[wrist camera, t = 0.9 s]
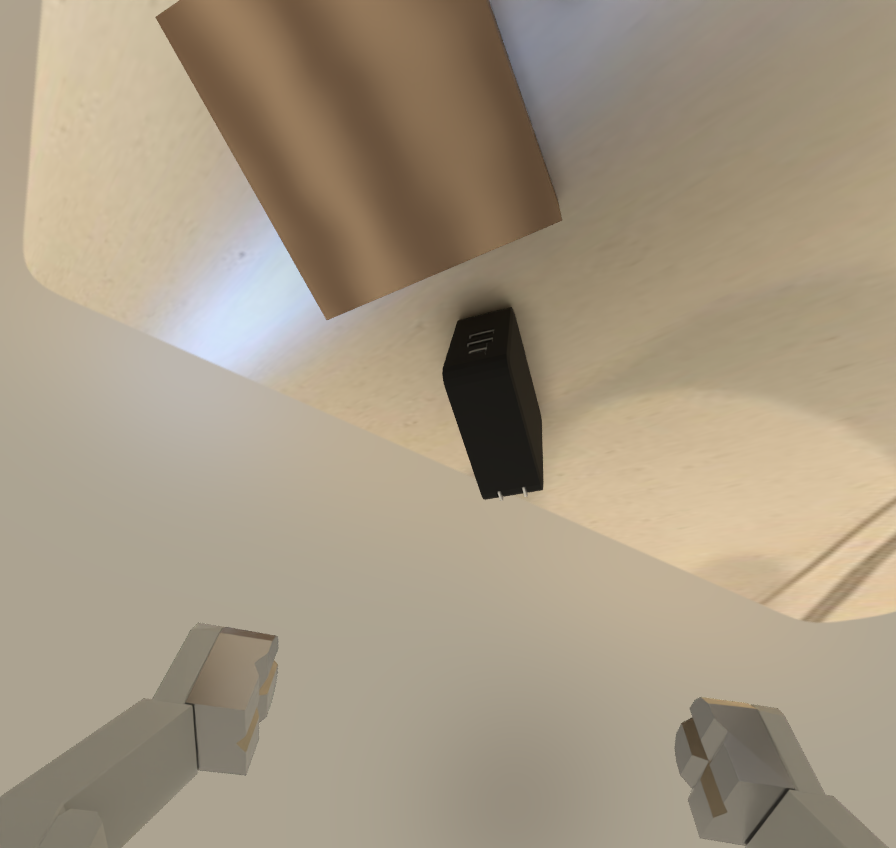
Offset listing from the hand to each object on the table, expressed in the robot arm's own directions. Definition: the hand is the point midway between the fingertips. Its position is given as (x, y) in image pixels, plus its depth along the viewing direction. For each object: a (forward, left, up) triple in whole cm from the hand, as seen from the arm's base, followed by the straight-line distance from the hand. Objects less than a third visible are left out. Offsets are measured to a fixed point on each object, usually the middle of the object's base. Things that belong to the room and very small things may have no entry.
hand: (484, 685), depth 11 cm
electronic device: (+5, +8, -34) cm, 35 cm away
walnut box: (+5, -11, -34) cm, 36 cm away
